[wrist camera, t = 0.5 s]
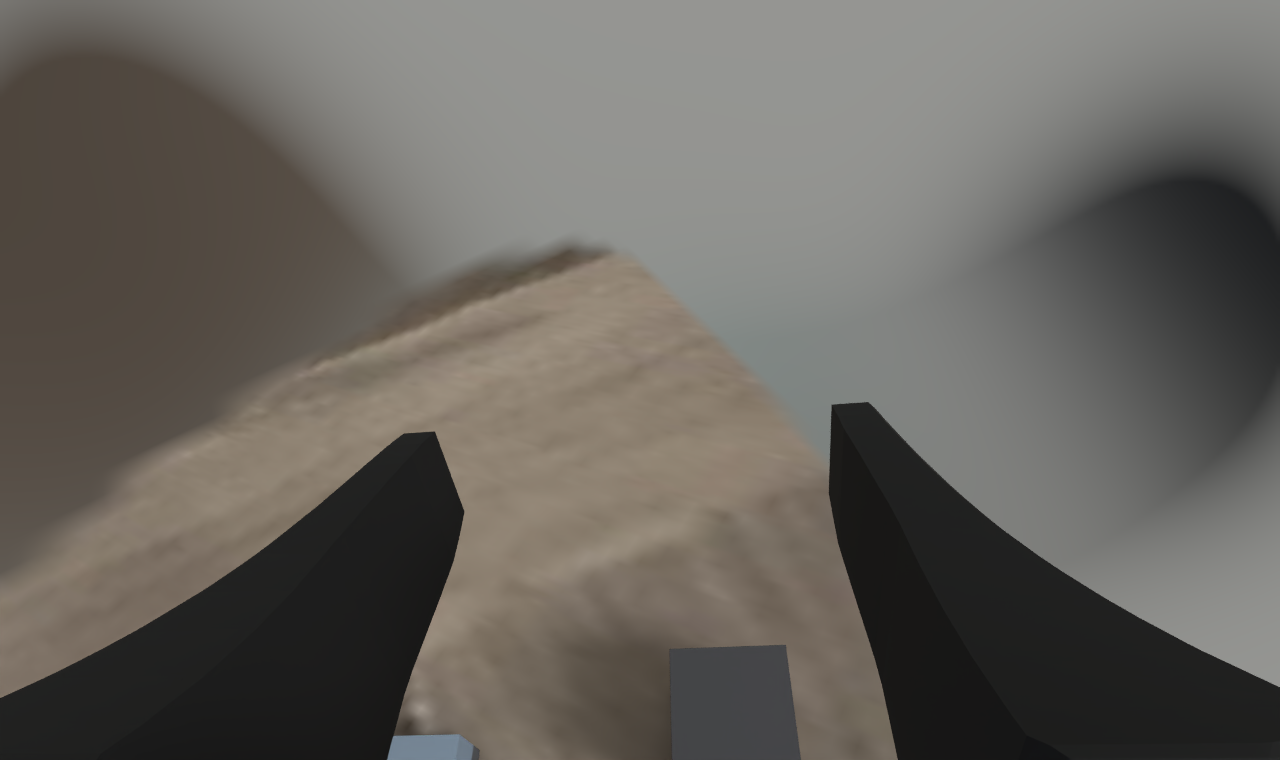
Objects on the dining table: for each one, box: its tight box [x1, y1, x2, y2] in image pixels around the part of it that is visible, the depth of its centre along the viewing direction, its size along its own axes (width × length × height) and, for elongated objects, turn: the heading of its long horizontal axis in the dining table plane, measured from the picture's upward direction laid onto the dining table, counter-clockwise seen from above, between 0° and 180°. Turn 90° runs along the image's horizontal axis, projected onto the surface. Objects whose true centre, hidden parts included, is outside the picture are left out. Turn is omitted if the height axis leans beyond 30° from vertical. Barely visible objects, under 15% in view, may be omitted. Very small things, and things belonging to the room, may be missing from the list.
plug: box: [670, 645, 801, 760], centre depth 24 cm, size 4×4×5 cm
